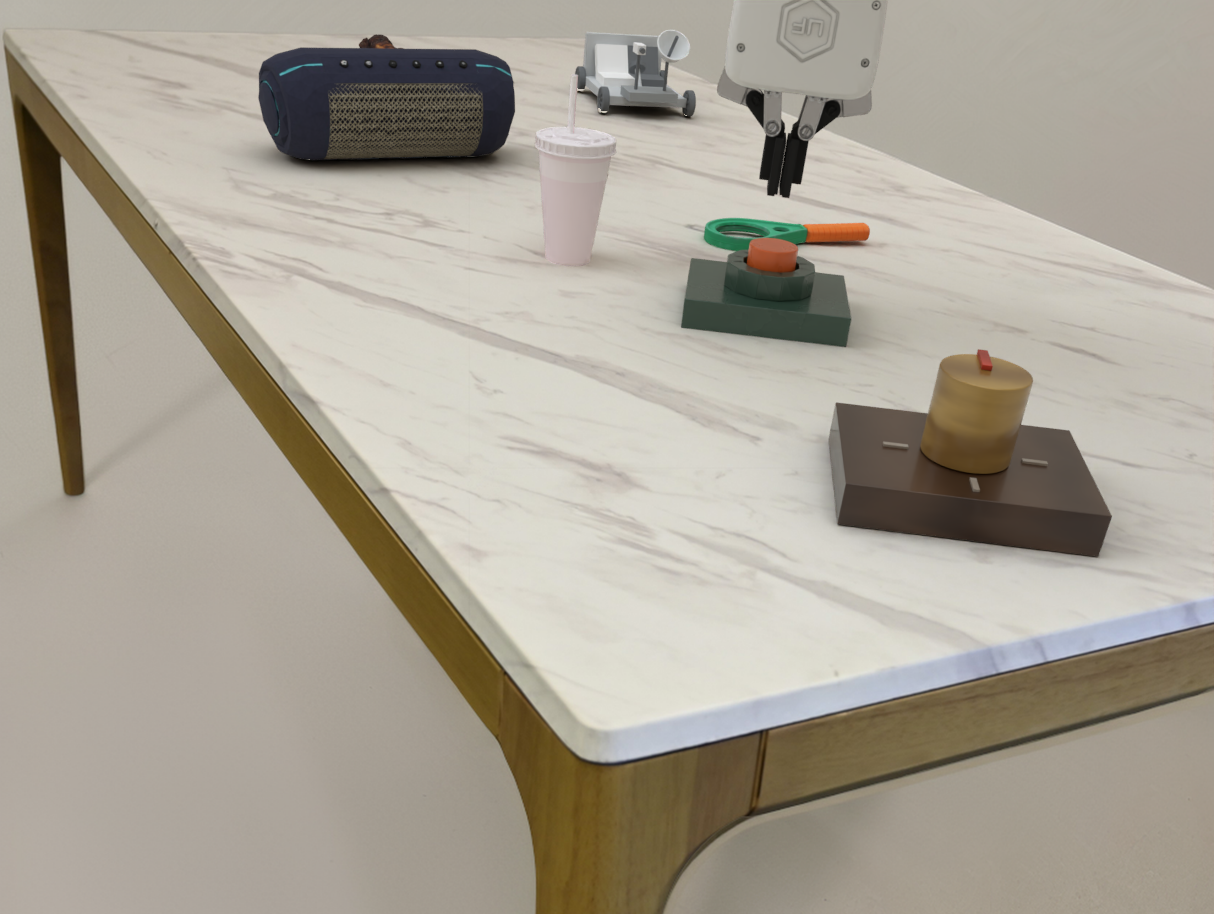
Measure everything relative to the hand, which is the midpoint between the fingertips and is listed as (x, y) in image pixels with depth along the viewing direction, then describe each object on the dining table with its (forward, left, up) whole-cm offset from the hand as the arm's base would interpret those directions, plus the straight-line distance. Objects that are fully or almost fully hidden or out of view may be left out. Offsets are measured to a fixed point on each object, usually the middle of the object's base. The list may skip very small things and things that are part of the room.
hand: (778, 191), depth 91 cm
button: (0, 0, -6) cm, 6 cm away
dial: (-11, +27, -7) cm, 30 cm away
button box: (0, 0, -9) cm, 9 cm away
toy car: (+16, -72, -9) cm, 74 cm away
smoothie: (+16, -8, -9) cm, 20 cm away
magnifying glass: (-2, -20, -9) cm, 22 cm away
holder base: (-11, +27, -9) cm, 31 cm away
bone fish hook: (+43, -74, -9) cm, 86 cm away
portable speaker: (+37, -34, -9) cm, 51 cm away
